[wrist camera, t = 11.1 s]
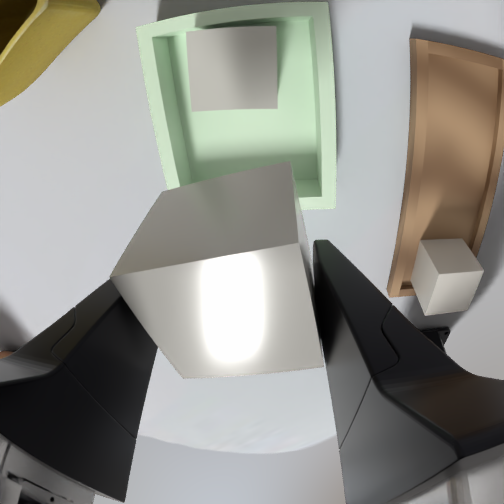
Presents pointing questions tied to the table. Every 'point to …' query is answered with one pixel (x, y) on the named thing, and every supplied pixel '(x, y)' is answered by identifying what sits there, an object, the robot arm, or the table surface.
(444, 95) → the walnut tray
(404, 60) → the table surface
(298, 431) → the table surface
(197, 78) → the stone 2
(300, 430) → the table surface
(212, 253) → the white small cube
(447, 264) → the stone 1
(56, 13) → the flower pot
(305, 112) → the green bin
